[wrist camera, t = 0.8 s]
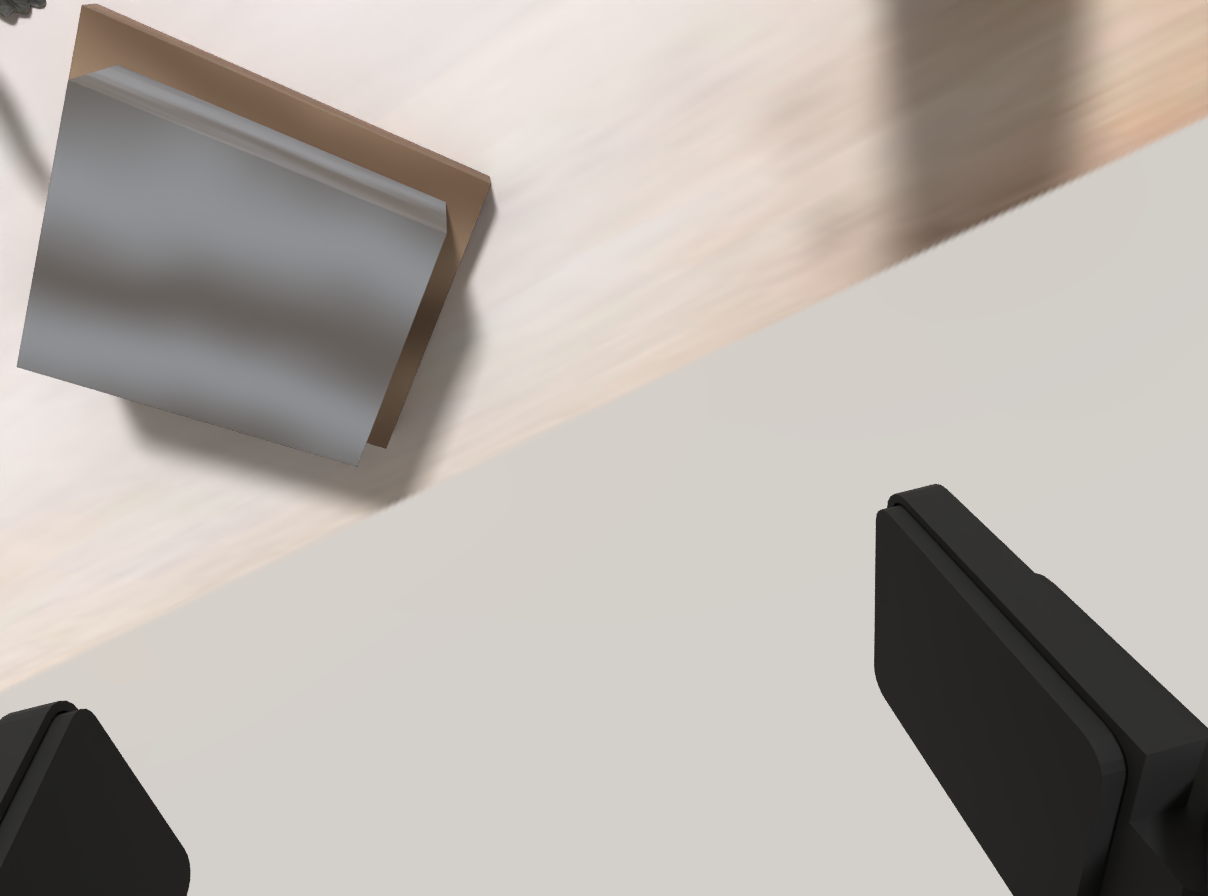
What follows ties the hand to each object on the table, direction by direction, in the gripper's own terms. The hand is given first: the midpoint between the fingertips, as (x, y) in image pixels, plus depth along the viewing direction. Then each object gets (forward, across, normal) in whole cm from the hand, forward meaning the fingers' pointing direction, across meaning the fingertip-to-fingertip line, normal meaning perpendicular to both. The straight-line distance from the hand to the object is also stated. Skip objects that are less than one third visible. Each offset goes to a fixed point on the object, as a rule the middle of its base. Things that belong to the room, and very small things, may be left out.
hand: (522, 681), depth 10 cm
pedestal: (+32, +9, +2) cm, 33 cm away
